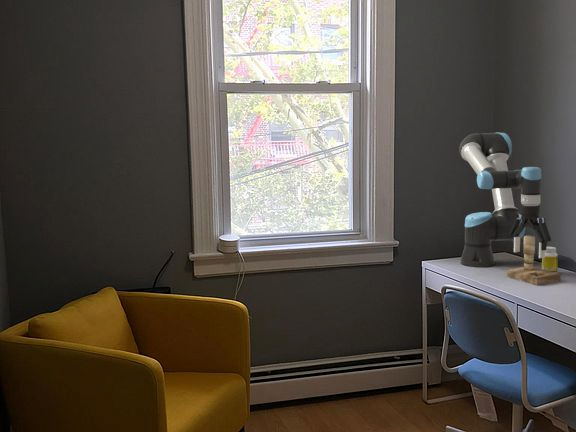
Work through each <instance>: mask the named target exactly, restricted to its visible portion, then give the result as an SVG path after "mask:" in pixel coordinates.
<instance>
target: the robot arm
mask: <svg viewBox="0 0 576 432" xmlns="http://www.w3.org/2000/svg"><path fill="white" fill-rule="evenodd" d="M458 149H459V150H458V151H459V154H460V156H461V158H462V159H463V160H464V161H466V162H468V163H469V165H470V166H471V168H472V169H473V171H474V172H475V174H476V175H477V176H476V184H477V186H478V188H479V189H481V190H491V193H492V199H493V205H494V211H493V212H488V211H481V212H474V213H473V212H472V213H470V214H468V215H466V217H465V219H464V248H463V251H462V254H461V256H460V264H461V265H464V266H467V267H475V268H483V267H484V268H485V267H486V268H487V267H492V266H494V265H495V264H496V262H495V257H494V253H493V249H492V242H494V241H496V242H498V241H512V244H513V253H520V252H521V250H520V249H521V239H523V238H524V236H525V235H524V234H525V232H526V227H528V228H531V229H532V230H534V233H535V234H536V236H537V237H538V239H539V241H540V242H539V243H538V259H542V258H545V250H546V247H548V245H547V244H548V242H551V241H552V237H551V236H550V232H549V229H548V227H547V223H546V217H541V218H540V216H539V215H540V214H541V206H540V205H541V192H542V191H541V188H542V186H541V185H542V169H541V168H540V167H539V166H538V167H537V166H525V167H522V169H514V170H509V168H508V164H507V161H508V160H509V158H510V157H511V155H512V152H513V151H512V149H513V145H512V140H511V138H510V136H509V135H508V134H507V133H505V132H497V131H496V132H486V133H485V132H484V133H483V132H481V133H478V132H477V133H471V134H468V135H467V136H466V137H464V139H463V140H461V142H460V144H459V148H458ZM512 189H520V203H521V205H520V211H519V208H517V207H515V203H514V198H513V191H512Z"/></svg>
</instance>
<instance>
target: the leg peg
mask: <svg viewBox="0 0 576 432" xmlns="http://www.w3.org/2000/svg"><path fill="white" fill-rule="evenodd" d="M522 251H523V252H522V253H523V267H524V270H533V267H534V260H535V259H534V257H535V253H536V235H535V236H534V235H523V250H522Z"/></svg>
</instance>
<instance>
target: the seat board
mask: <svg viewBox="0 0 576 432" xmlns="http://www.w3.org/2000/svg"><path fill="white" fill-rule="evenodd" d="M506 270H507V271H506V277H507V278H509V277H510V279H513V280H516V279H517V280H516V281H520V280H521V281H520V282H523V281H524V283H527V284H531V285H534V286H541V285H547V284H550V283H556V282H557V283H558V282H561V273H559V272H557V273H555V272H552V271H548V270H544V269H542V268H539V267H536V266H533V270H524V266H522V267H516V268H510V269H506Z"/></svg>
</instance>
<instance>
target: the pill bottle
mask: <svg viewBox="0 0 576 432" xmlns="http://www.w3.org/2000/svg"><path fill="white" fill-rule="evenodd" d="M541 259H542V260H541V269H544V270H548V271H552V272H555V273H558V265H559V262H558V261H559V255H558V253H557V247H556V246H555V247H554V246H546V250H545V258H541Z"/></svg>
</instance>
